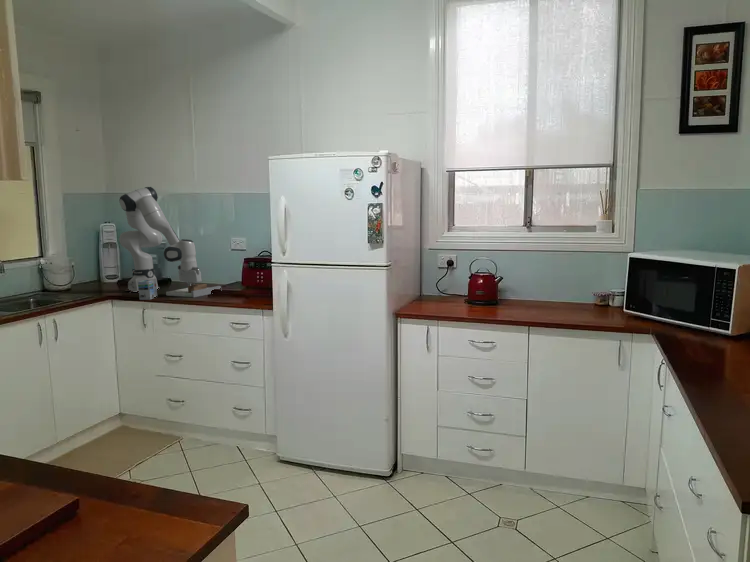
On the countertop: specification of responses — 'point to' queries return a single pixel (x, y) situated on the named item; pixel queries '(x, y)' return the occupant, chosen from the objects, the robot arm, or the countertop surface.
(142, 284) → the light bulb box
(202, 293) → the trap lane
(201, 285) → the walnut block
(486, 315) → the countertop surface
